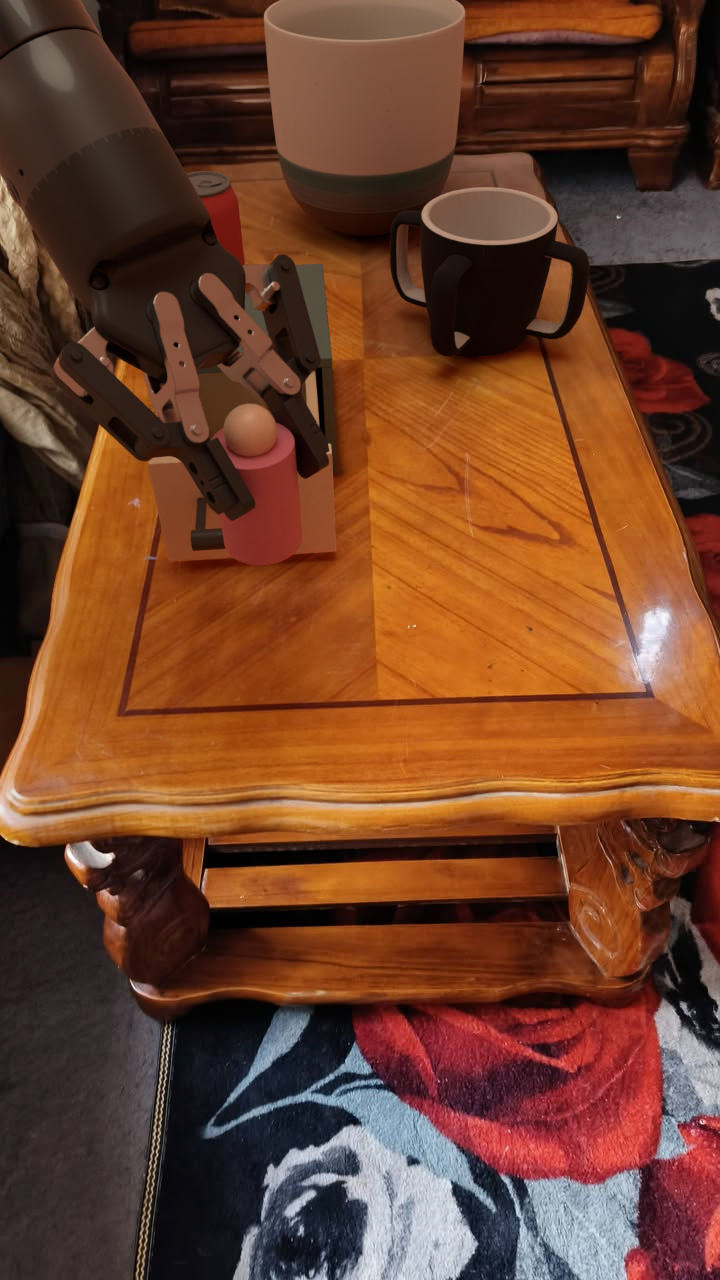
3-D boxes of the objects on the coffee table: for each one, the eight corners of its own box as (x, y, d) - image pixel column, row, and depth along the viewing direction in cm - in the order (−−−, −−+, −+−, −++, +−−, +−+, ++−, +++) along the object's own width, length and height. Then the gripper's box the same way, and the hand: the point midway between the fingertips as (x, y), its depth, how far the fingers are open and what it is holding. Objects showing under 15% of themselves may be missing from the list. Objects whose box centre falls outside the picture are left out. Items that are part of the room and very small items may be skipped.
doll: (223, 568, 50) (201, 436, 44) (225, 517, 53) (205, 386, 47) (303, 563, 50) (292, 430, 44) (301, 512, 53) (290, 381, 47)
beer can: (253, 311, 98) (240, 191, 89) (189, 320, 97) (170, 199, 88) (243, 282, 102) (230, 165, 94) (182, 290, 101) (163, 172, 93)
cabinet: (336, 473, 79) (331, 357, 71) (171, 482, 78) (148, 367, 71) (327, 372, 90) (322, 263, 82) (182, 380, 89) (163, 270, 81)
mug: (584, 372, 89) (606, 244, 80) (415, 389, 88) (418, 261, 79) (535, 290, 100) (550, 170, 91) (384, 304, 99) (385, 184, 90)
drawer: (340, 597, 68) (336, 498, 61) (164, 608, 67) (141, 510, 61) (327, 438, 81) (322, 343, 74) (179, 446, 80) (162, 352, 74)
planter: (262, 258, 106) (242, 37, 91) (299, 185, 120) (286, -17, 105) (445, 268, 104) (456, 43, 88) (461, 193, 118) (473, -13, 102)
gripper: (-37, 171, 38) (191, 543, 41) (241, 86, 45) (421, 410, 48) (-57, 259, 45) (141, 575, 47) (188, 174, 51) (349, 454, 54)
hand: (280, 491), depth 47 cm, fingers closed on doll, 4 cm apart
